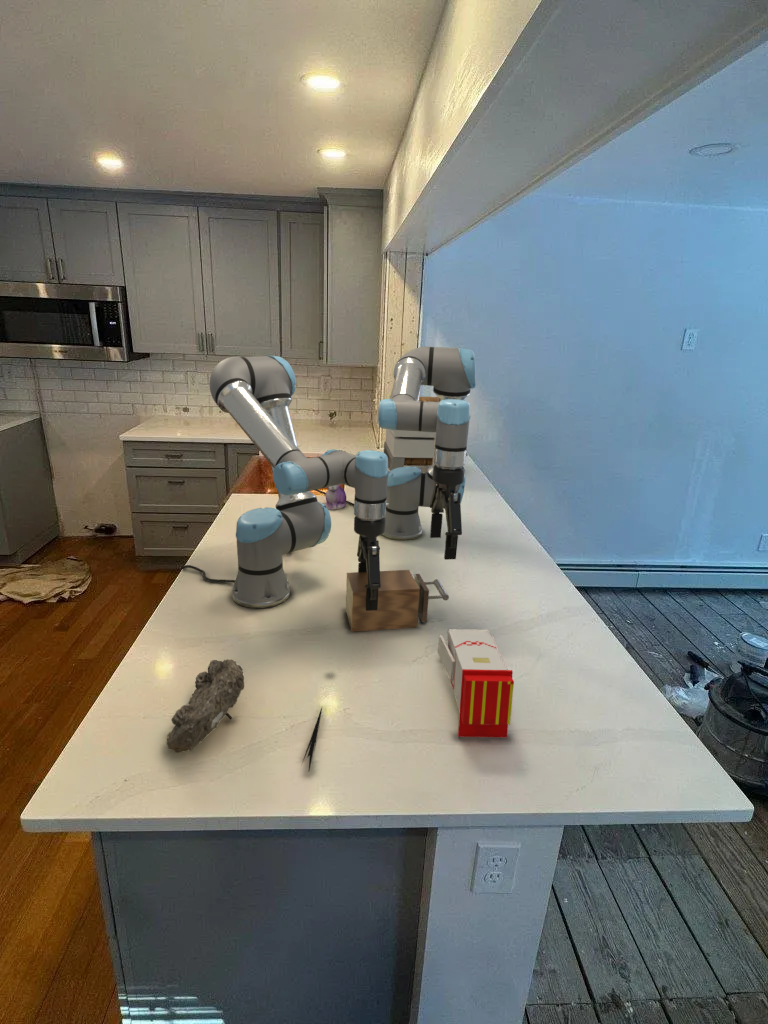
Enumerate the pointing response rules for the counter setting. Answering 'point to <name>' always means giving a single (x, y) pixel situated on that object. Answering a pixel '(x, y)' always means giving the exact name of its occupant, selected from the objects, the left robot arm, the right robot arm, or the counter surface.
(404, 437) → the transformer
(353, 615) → the cabinet
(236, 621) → the counter surface
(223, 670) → the fossil
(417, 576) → the drawer
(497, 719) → the toy
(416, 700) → the counter surface
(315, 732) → the feather
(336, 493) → the figurine
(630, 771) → the counter surface
